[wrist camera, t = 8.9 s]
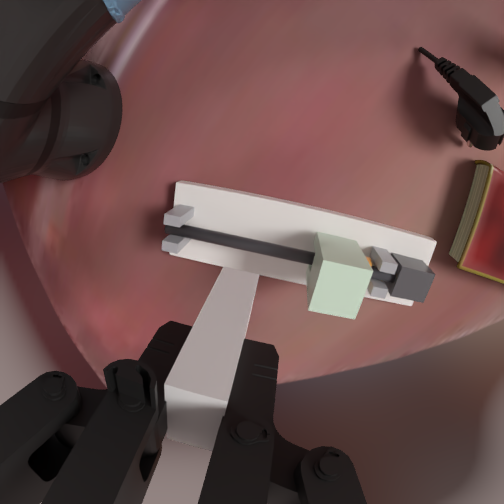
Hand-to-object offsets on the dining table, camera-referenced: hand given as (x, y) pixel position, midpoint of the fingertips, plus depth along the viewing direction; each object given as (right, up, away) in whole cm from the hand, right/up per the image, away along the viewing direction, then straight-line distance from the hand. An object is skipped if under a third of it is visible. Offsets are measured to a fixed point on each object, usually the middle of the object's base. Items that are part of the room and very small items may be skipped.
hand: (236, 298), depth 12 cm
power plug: (+19, +23, +11) cm, 32 cm away
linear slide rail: (+6, +3, +18) cm, 19 cm away
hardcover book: (+34, +5, +14) cm, 38 cm away
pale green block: (+8, +1, +16) cm, 18 cm away
